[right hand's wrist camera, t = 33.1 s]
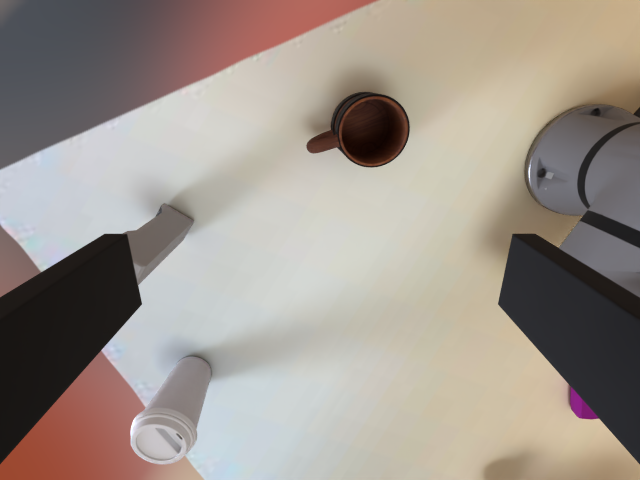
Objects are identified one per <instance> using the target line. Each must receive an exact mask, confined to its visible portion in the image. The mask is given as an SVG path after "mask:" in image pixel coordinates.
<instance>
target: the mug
mask: <svg viewBox="0 0 640 480" xmlns="http://www.w3.org/2000/svg"><path fill="white" fill-rule="evenodd" d="M409 128H410V126H409V120H408V116H407V114H406V112H405V110H404V108H403V107H402V106H401V105H400V104H399V103H398V102H397V101H396V100H394V99H393V98H391V97H389V96H386V95H381V94H376V93H371V92H359V93H355V94H352V95H350V96H348V97H347V98H345V99H344V100H343V101H342V102H341V103H340V104H339V105H338V106H337V108H336V110H335V112H334V114H333V117H332V121H331V130H330V131H327V132H325V133H322V134H320V135H318V136H316V137H314V138H312V139H311V140H309V142H308V143H307V150H308V151H309V152H310V153H319V152H323V151H326V150H330V149H333V148H336V147H337V148H338V149H339V150H340V151H341V152H342V153H343V154H344V155H345V156H346V157H347V158H348V159H349V160H350V161H352V162H353V163H355V164H357V165H360V166H363V167H378V166H382V165H385V164H387V163H389V162H391V161H392V160H394V159H395V158H396V157H397V156H398V155H399V154H400V153H401V152H402V150H403V149H404V147H405V145H406V143H407V141H408V137H409Z"/></svg>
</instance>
